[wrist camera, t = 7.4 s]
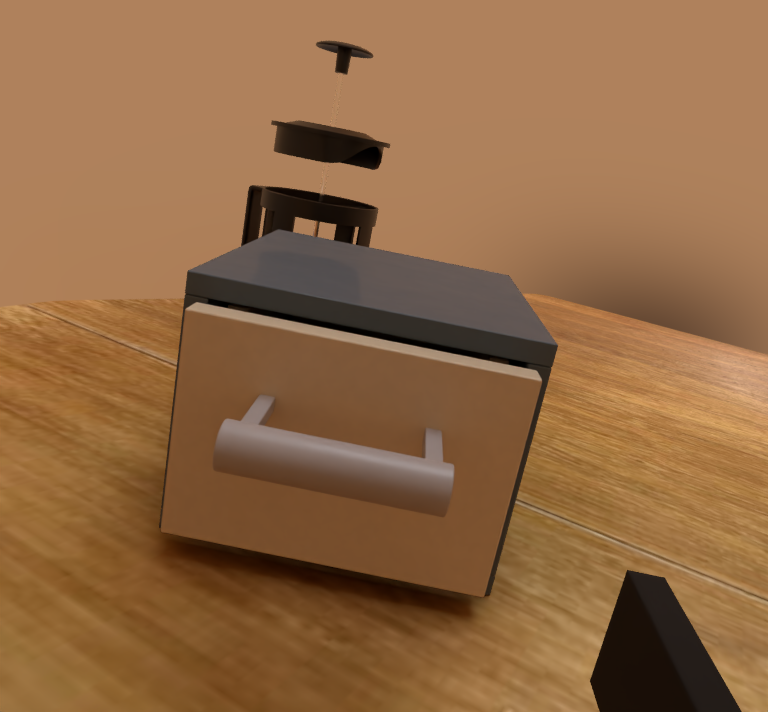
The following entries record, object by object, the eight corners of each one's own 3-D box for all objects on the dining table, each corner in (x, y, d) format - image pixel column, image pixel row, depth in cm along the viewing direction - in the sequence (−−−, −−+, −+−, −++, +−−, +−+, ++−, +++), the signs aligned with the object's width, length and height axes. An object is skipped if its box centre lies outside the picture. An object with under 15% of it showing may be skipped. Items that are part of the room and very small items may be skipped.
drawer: (496, 692, 22) (571, 433, 19) (102, 611, 22) (126, 343, 19) (464, 445, 40) (500, 298, 38) (253, 403, 40) (274, 253, 38)
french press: (381, 355, 58) (438, 66, 52) (319, 376, 50) (378, 36, 43) (270, 317, 63) (310, 49, 56) (198, 331, 55) (234, 19, 48)
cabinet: (490, 595, 28) (558, 344, 25) (158, 528, 28) (186, 270, 25) (468, 443, 43) (509, 275, 40) (253, 399, 43) (277, 229, 40)
